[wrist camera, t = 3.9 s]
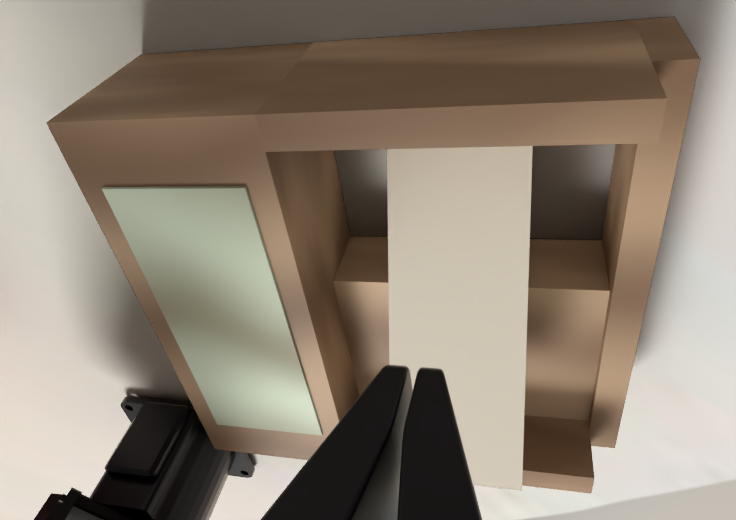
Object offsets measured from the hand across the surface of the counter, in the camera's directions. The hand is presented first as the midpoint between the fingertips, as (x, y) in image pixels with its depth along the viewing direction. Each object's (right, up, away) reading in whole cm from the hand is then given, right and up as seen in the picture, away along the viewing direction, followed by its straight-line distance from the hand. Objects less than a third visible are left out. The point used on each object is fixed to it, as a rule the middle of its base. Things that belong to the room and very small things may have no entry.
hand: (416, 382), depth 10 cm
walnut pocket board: (0, +3, +12) cm, 12 cm away
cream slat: (+2, +1, +9) cm, 10 cm away
